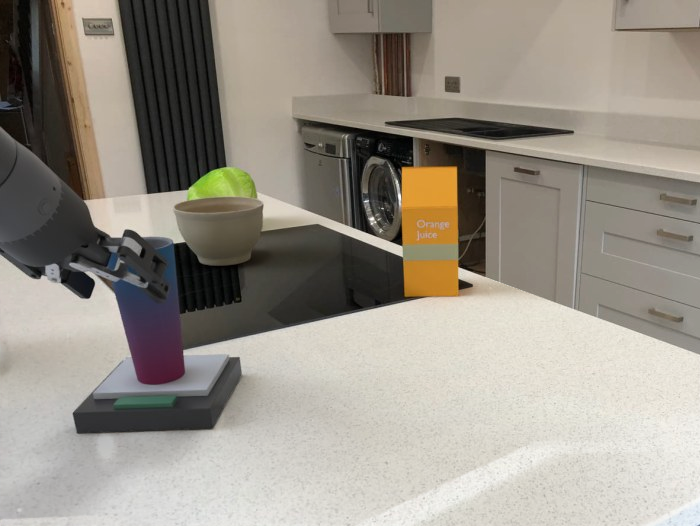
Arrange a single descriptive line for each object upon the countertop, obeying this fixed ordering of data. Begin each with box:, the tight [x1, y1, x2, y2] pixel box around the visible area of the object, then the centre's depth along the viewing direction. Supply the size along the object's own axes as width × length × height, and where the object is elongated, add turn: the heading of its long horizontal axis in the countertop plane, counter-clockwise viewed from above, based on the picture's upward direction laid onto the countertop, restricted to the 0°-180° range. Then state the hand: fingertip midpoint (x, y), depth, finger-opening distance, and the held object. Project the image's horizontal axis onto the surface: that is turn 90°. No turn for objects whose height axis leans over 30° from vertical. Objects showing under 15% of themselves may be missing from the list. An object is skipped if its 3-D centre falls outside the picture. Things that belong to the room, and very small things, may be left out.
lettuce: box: [186, 166, 258, 201], centre depth 164 cm, size 15×20×14 cm
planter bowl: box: [172, 196, 265, 267], centre depth 138 cm, size 16×16×11 cm
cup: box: [107, 236, 185, 385], centre depth 79 cm, size 7×7×15 cm
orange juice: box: [400, 166, 459, 298], centre depth 118 cm, size 8×9×20 cm
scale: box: [72, 353, 243, 434], centre depth 82 cm, size 14×14×3 cm
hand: (126, 292), depth 75 cm, fingers open, 8 cm apart
